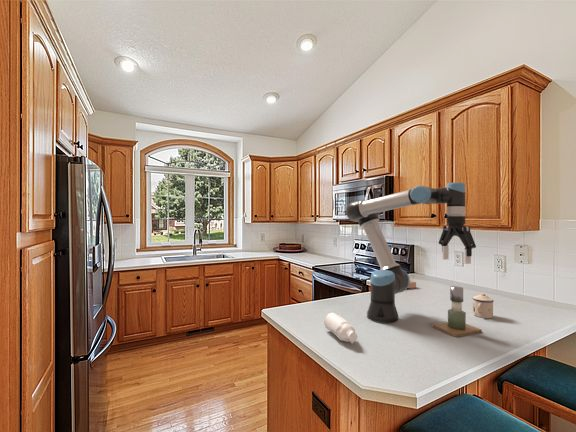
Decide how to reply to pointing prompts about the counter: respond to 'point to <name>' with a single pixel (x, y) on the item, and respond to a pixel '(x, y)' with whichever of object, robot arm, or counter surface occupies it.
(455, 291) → the cap
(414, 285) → the planter frame
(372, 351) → the counter surface
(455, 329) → the brown board with cylinder
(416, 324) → the counter surface
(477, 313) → the teacup with lid
